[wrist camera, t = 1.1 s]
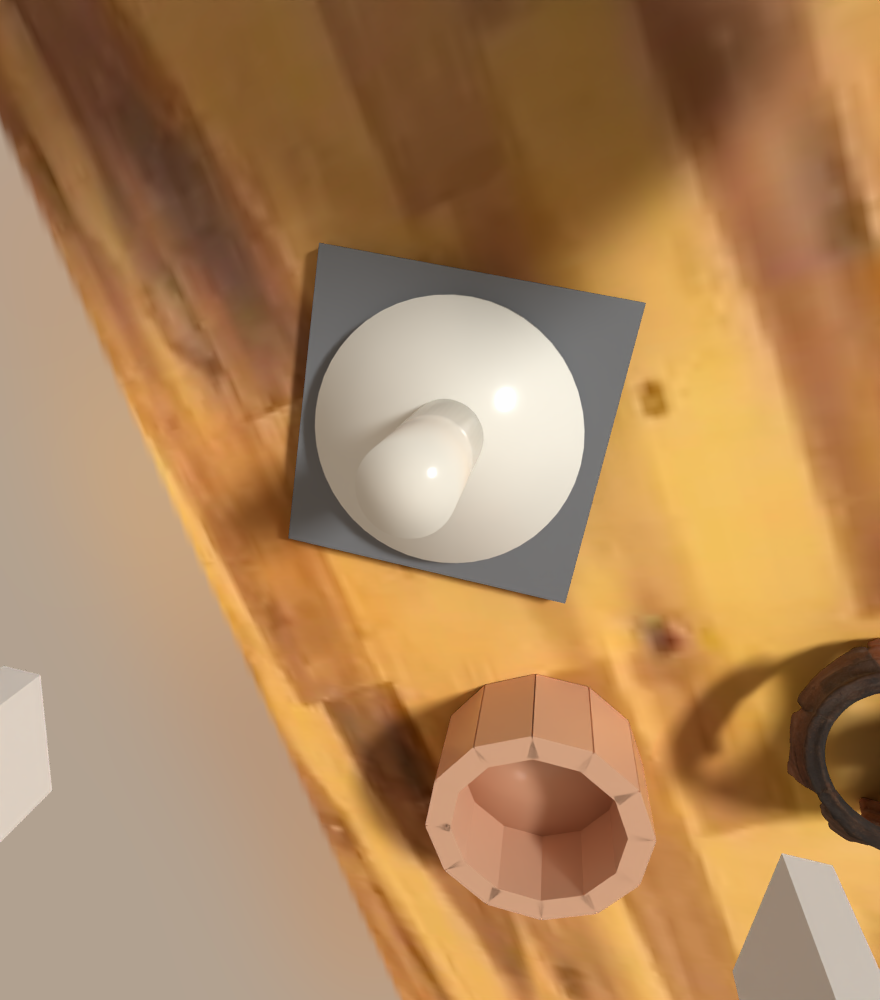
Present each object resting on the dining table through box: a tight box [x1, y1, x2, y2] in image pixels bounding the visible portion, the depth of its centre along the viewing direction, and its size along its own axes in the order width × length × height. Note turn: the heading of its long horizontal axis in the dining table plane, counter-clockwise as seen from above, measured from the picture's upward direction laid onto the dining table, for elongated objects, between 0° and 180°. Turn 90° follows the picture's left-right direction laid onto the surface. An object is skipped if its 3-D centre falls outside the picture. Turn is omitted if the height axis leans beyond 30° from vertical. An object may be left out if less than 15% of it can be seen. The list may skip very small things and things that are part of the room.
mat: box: [289, 243, 646, 603], centre depth 30 cm, size 14×14×1 cm
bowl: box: [425, 674, 656, 920], centre depth 33 cm, size 10×10×5 cm
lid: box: [315, 294, 585, 563], centre depth 25 cm, size 12×12×9 cm
